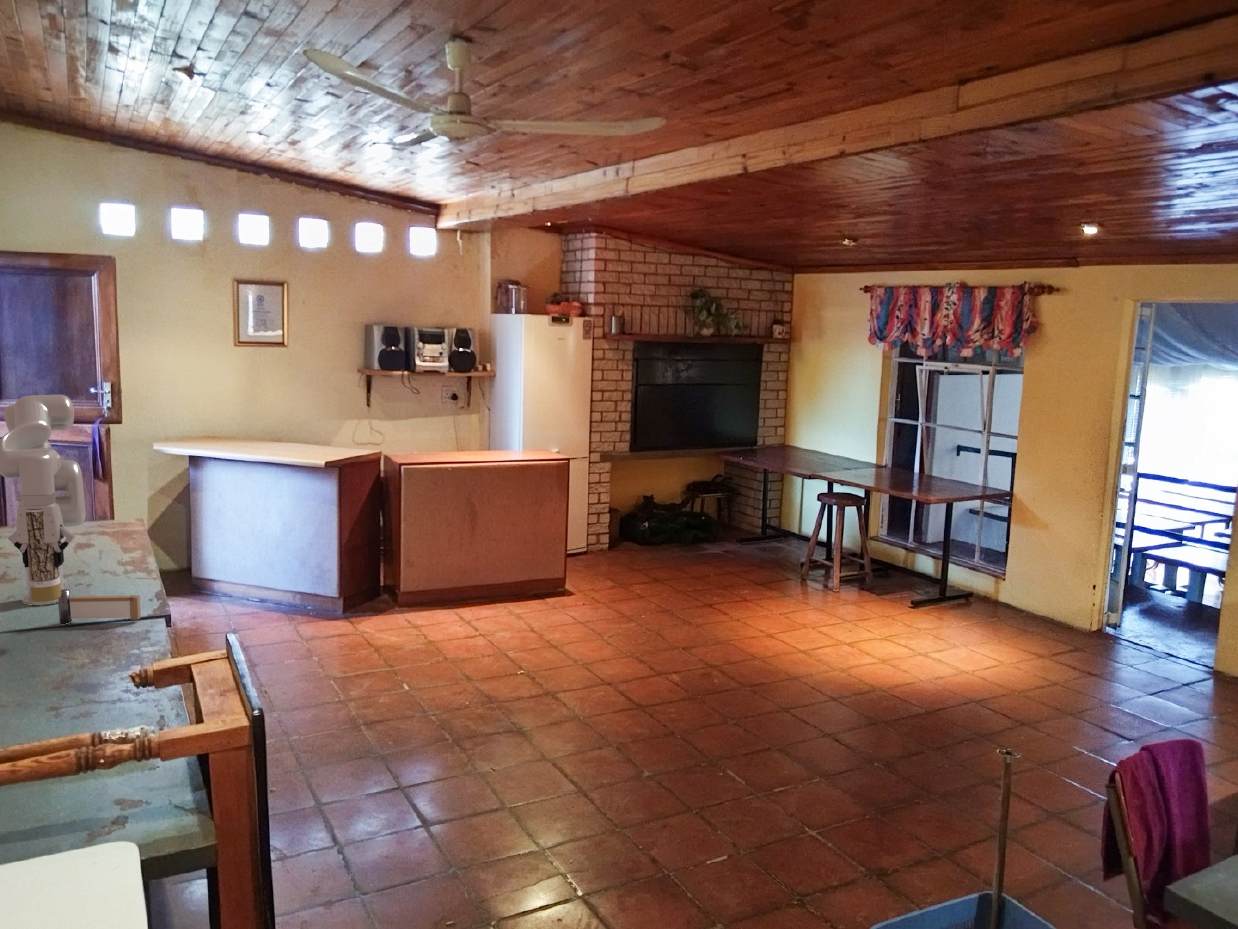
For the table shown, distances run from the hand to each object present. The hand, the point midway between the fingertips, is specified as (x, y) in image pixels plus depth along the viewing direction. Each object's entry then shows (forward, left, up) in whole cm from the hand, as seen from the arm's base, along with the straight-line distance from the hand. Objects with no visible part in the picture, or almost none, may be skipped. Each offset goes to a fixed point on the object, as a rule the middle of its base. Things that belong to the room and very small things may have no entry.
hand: (43, 565), depth 246 cm
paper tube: (0, 0, -9) cm, 9 cm away
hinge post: (-14, -2, -21) cm, 25 cm away
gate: (-14, +9, -20) cm, 26 cm away
